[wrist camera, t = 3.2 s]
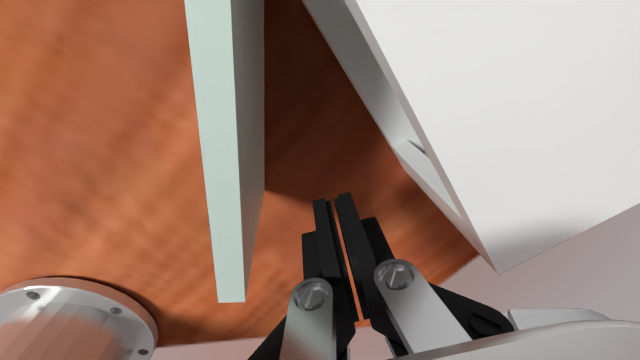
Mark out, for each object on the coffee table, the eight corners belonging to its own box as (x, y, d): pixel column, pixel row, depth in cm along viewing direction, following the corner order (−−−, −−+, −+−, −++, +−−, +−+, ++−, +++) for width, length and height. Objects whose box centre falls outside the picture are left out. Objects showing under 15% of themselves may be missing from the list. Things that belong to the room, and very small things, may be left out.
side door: (234, 187, 18) (190, 303, 10) (220, -57, 13) (95, -236, 4) (264, 188, 19) (245, 301, 11) (263, -51, 13) (220, -209, 5)
